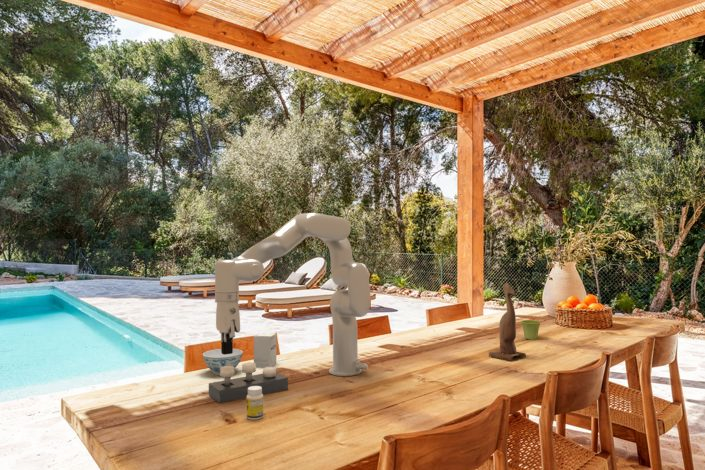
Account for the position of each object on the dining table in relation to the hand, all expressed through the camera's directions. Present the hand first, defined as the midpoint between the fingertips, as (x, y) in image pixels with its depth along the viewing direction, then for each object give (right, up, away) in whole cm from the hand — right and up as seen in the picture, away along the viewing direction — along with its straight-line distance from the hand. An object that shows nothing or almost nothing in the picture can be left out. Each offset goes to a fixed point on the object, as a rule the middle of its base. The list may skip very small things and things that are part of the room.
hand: (227, 353), depth 158 cm
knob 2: (+12, -13, +9) cm, 20 cm away
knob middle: (+6, -10, +4) cm, 13 cm away
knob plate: (+6, -14, +4) cm, 16 cm away
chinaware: (-9, -15, +29) cm, 34 cm away
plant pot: (+132, -14, +88) cm, 159 cm away
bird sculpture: (+107, -14, +49) cm, 119 cm away
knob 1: (0, -10, 0) cm, 10 cm away
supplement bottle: (+13, -14, -19) cm, 27 cm away
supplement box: (+5, -15, +40) cm, 43 cm away
